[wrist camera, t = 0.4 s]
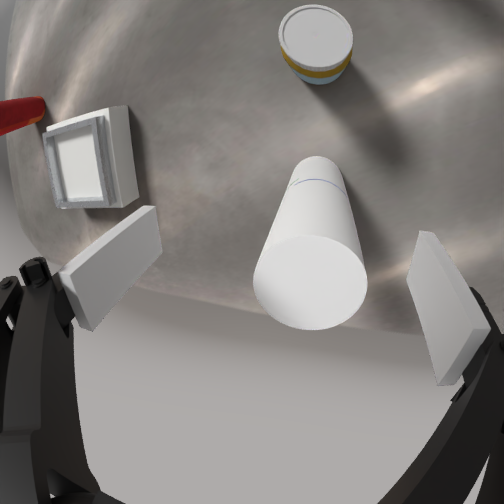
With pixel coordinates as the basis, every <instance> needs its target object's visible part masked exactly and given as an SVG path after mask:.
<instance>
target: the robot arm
mask: <svg viewBox="0 0 504 504" xmlns="http://www.w3.org/2000/svg"><path fill="white" fill-rule="evenodd" d="M162 252H163V251H162V246H161V239H160V233H159V227H158V220H157V213H156V206H142V207H141V208H139V209H138V210H136V211H135V212H134V213H132V214H131V215H129V216H128V217H127V218H125V219H124V220H122V221H121V222H120V223H118V224H117V225H116V226H114V227H113V228H112V229H110V230H109V231H108V232H106V233H105V234H104V235H102V236H101V237H100V238H98V239H97V240H96V241H95V242H93V243H92V244H91V245H89V246H88V247H87V248H86V249H84V250H83V251H82V252H81V253H79V254H78V255H77V256H76V257H75V258H73V259H72V260H71V261H70V262H68V263H67V264H66V265H65V266H64V267H63V268H61V269H60V270H59V271H58V272H57V273H56V274H54V275H53V276H51V273H50V270H49V268H48V265H47V262H46V259H45V258H44V257H36V258H33V259H30V260H28V261H27V262H25V263H24V264H23V265H22V266H21V267H20V268H19V270H20V273H21V276H22V278H23V280H24V283H25V285H26V286H21V285H20V282H19V280H18V278H17V277H16V276H10V277H6V278H4V279H3V280H2V281H1V282H0V504H125V503H123V502H121V501H119V500H117V499H115V498H113V497H111V496H109V495H107V494H105V493H103V492H102V491H101V490H100V487H99V485H98V483H97V481H96V479H95V477H94V476H93V474H92V473H91V471H90V469H89V467H88V464H87V459H86V455H85V450H84V445H83V439H82V433H81V426H80V420H79V412H78V404H77V394H76V383H75V368H74V344H73V343H74V337H73V329H74V328H73V325H72V323H71V320H72V319H73V318H74V317H76V319H77V321H78V323H79V326H80V327H81V328H84V329H87V330H90V331H92V332H93V331H94V329H95V328H96V327H97V326H98V325H99V323H100V322H101V321H102V319H104V317H105V316H106V315H107V314H108V313H109V312H110V310H111V309H112V308H113V307H114V306H115V305H116V303H117V302H118V301H119V300H120V299H121V298H122V297H123V295H124V294H125V293H126V292H127V291H128V290H129V289H130V287H131V286H132V285H133V284H134V283H135V282H136V281H137V280H138V279H139V277H140V276H141V275H142V274H143V273H144V272H145V271H146V270H147V269H148V268H149V266H150V265H151V264H152V263H153V262H154V261H155V260H156V259H157V258H158V257H159V256H160V255H161V254H162ZM406 281H407V284H408V287H409V289H410V292H411V295H412V298H413V301H414V304H415V307H416V310H417V313H418V316H419V319H420V322H421V325H422V329H423V332H424V336H425V339H426V342H427V346H428V349H429V353H430V357H431V361H432V365H433V369H434V373H435V378H436V382H437V385H438V386H444V385H454V384H455V383H456V382H457V380H458V379H459V378H460V376H461V375H463V378H464V382H465V383H464V384H463V385H462V387H461V388H460V389H459V390H458V392H457V393H456V394H455V395H454V397H453V398H452V399H451V401H452V404H451V406H450V407H449V409H448V411H447V413H446V414H445V416H444V418H443V419H442V421H441V422H440V424H439V426H438V427H437V429H436V431H435V432H434V433H433V435H432V436H431V438H430V439H429V441H428V442H427V444H426V445H425V447H424V448H423V449H422V451H421V452H420V454H419V455H418V456H417V458H416V459H415V460H414V462H413V463H412V464H411V465H410V467H409V468H408V469H407V470H406V472H405V473H404V474H403V476H402V477H401V478H400V479H399V480H398V482H397V483H396V484H395V485H394V486H393V487H392V488H391V489H390V491H389V492H388V493H387V494H386V495H385V496H384V497H383V498H382V499H381V500H380V501H379V502H378V504H463V503H464V501H465V500H466V498H467V496H468V495H469V493H470V491H471V489H472V488H473V486H474V484H475V482H476V480H477V478H478V477H479V475H480V473H481V471H482V469H483V467H484V465H485V463H486V461H487V458H488V457H489V460H488V464H487V468H486V471H485V475H484V478H483V482H482V485H481V488H480V491H479V494H478V497H477V500H476V503H475V504H504V334H501V332H500V330H499V328H498V326H497V324H496V322H495V320H494V319H493V317H492V315H491V313H490V312H489V309H488V307H487V306H486V305H485V302H484V300H483V299H482V297H481V295H480V294H479V293H478V292H477V291H476V290H475V289H474V288H473V287H468V285H467V283H466V282H465V280H464V278H463V277H462V275H461V273H460V272H459V270H458V269H457V267H456V265H455V264H454V262H453V261H452V259H451V258H450V256H449V255H448V253H447V252H446V250H445V249H444V247H443V246H442V244H441V243H440V241H439V240H438V238H437V237H436V236H435V234H434V233H433V232H426V231H419V235H418V239H417V243H416V247H415V251H414V254H413V258H412V261H411V265H410V268H409V271H408V275H407V278H406ZM7 316H8V317H9V318H10V320H11V322H12V324H13V329H12V330H11V329H10V328H9V326H8V324H7V322H6V319H7ZM489 454H490V455H489ZM50 494H52V495H54V496H55V497H54V498H50Z"/></svg>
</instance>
